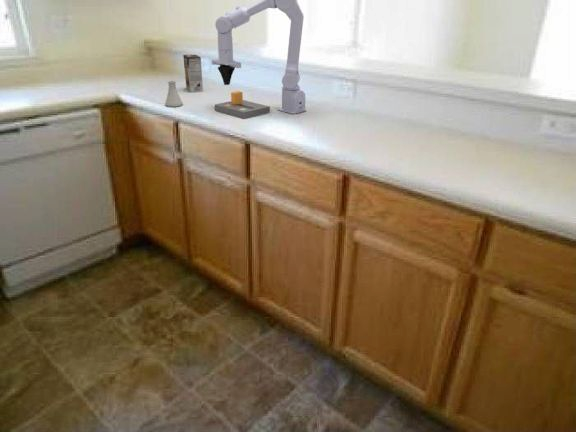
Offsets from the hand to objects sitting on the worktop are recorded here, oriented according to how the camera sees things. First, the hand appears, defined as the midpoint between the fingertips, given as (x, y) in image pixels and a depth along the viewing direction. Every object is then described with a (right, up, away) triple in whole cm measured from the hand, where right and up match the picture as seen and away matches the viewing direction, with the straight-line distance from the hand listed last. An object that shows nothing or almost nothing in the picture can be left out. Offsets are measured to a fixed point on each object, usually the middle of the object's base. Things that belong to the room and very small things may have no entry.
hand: (227, 84), depth 184 cm
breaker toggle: (+4, -8, -1) cm, 9 cm away
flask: (-24, -7, +7) cm, 26 cm away
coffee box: (-21, +7, +35) cm, 42 cm away
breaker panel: (+6, -11, -1) cm, 13 cm away
